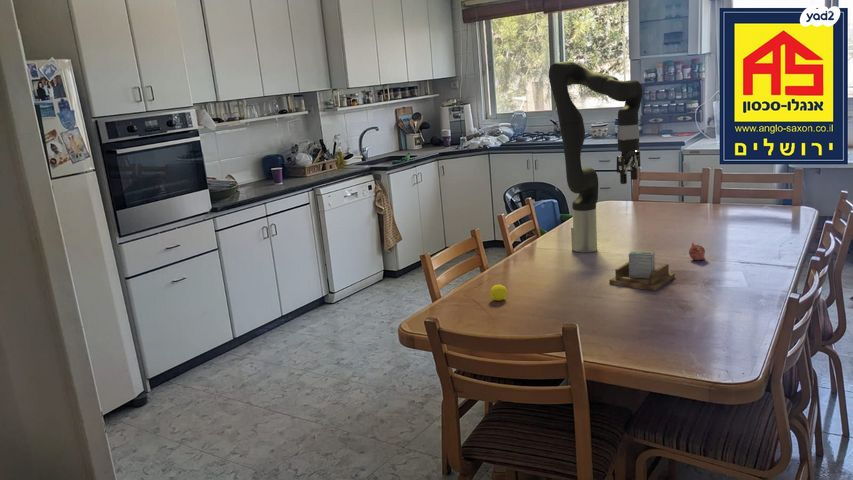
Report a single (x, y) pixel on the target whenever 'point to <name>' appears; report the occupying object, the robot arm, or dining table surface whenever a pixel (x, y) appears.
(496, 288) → the lemon
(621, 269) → the brown wooden tray
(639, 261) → the medicine box
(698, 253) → the orange ridged rounded piece
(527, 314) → the dining table surface
